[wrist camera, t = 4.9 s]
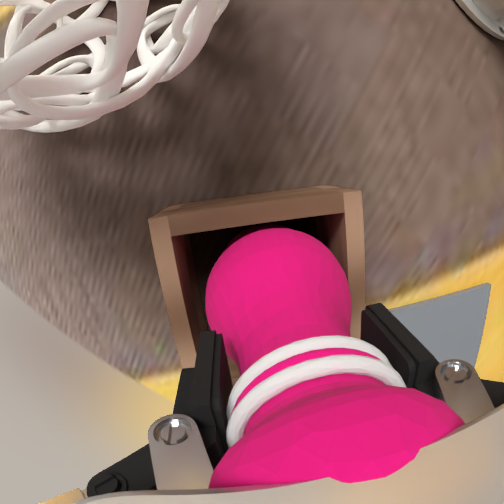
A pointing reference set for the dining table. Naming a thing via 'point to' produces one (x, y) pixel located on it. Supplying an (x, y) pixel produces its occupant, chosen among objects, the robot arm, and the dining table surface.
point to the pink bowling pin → (307, 371)
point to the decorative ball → (93, 58)
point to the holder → (247, 213)
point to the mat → (449, 323)
